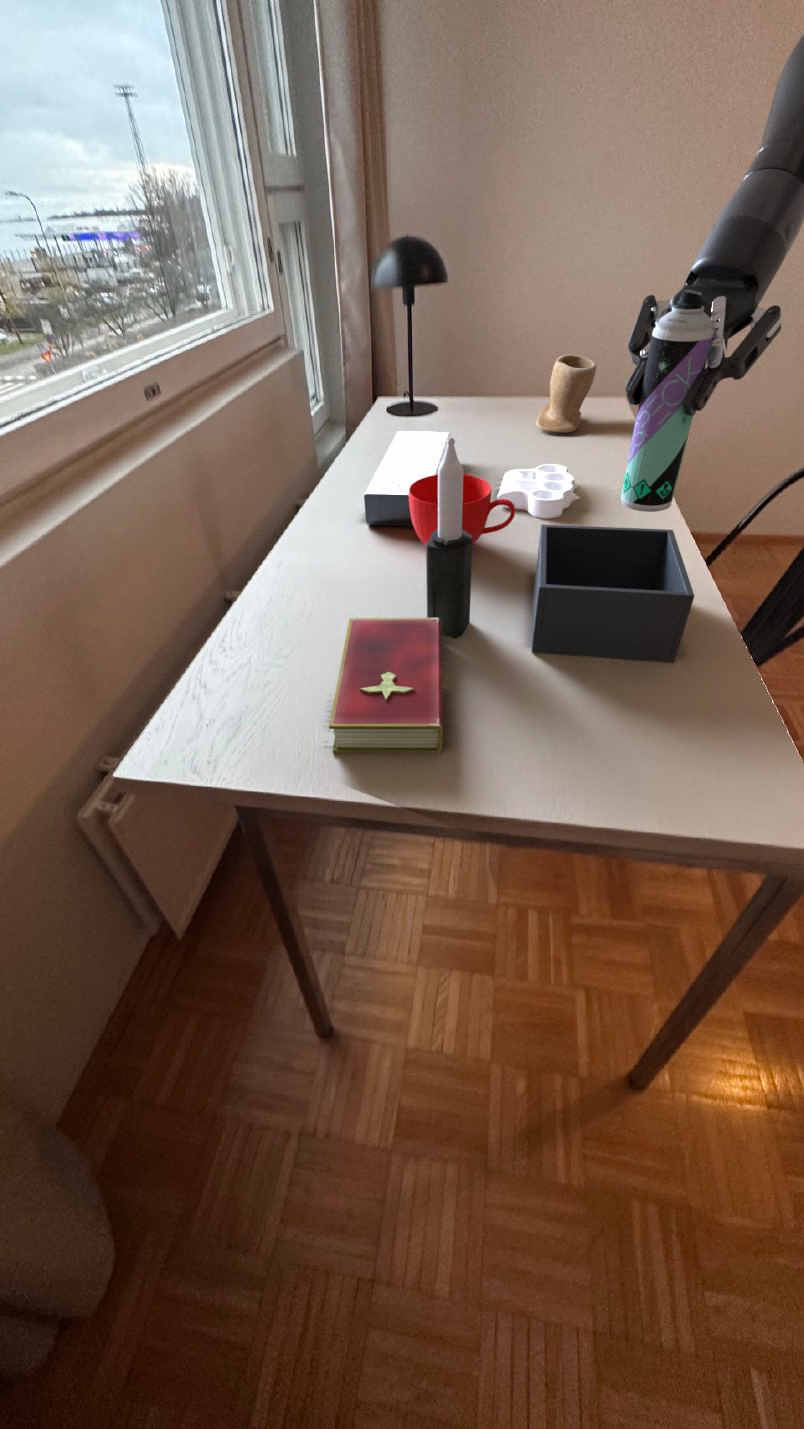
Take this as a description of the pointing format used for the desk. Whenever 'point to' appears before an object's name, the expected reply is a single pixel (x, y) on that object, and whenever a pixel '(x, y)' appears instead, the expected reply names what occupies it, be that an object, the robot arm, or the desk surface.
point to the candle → (449, 553)
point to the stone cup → (567, 393)
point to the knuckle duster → (539, 490)
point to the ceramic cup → (473, 507)
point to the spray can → (666, 404)
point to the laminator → (403, 475)
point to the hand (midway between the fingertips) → (658, 404)
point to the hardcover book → (390, 687)
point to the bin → (610, 593)
